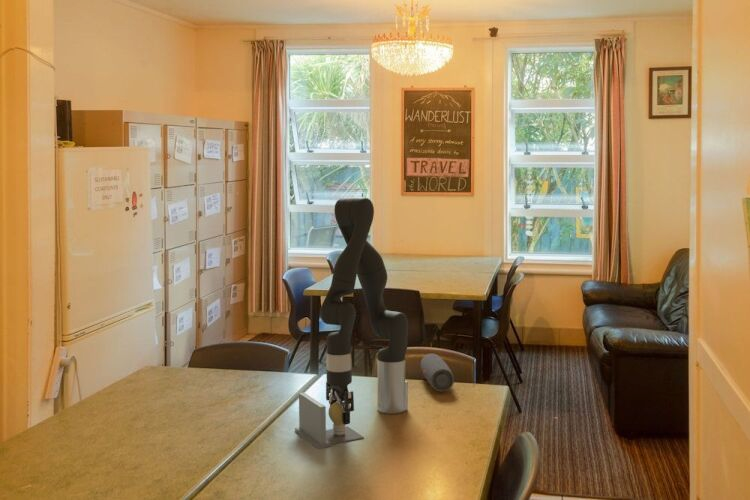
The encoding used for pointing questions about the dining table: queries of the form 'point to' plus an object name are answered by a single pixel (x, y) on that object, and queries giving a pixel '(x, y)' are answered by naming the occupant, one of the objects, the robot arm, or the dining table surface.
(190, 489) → the dining table surface
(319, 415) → the screen
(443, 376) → the bluetooth speaker
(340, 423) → the yellow light bulb
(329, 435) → the mat
